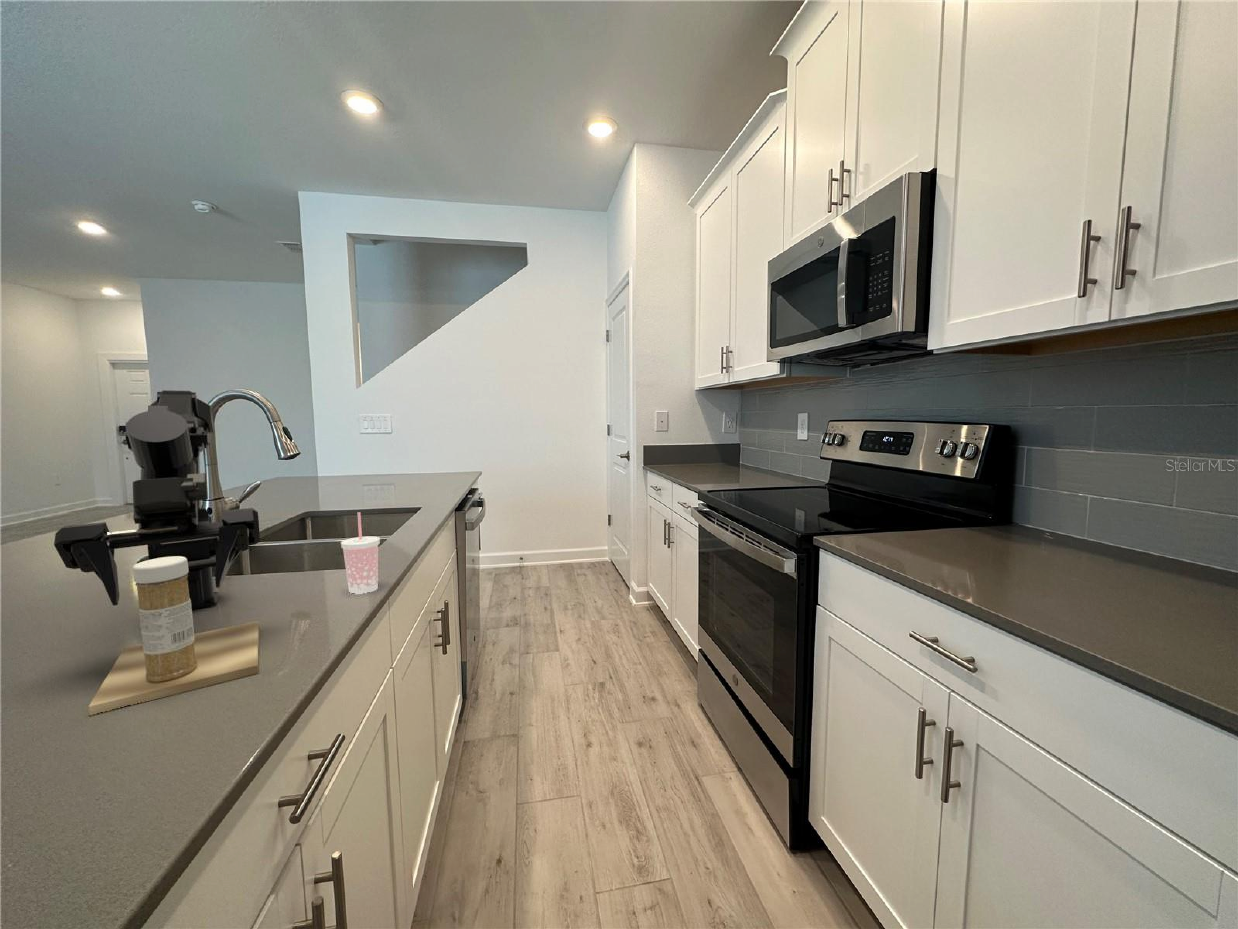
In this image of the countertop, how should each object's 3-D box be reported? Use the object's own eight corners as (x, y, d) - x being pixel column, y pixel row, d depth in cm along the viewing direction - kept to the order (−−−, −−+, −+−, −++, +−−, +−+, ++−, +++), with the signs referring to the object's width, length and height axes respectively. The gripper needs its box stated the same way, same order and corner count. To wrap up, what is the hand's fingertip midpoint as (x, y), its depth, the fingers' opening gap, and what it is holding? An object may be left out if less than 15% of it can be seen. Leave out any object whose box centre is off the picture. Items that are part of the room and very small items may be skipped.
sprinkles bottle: (186, 660, 60) (175, 553, 58) (206, 668, 58) (195, 557, 56) (136, 678, 56) (124, 563, 54) (156, 687, 54) (143, 568, 52)
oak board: (125, 655, 63) (124, 648, 63) (258, 627, 71) (258, 621, 71) (89, 715, 50) (88, 706, 50) (257, 673, 58) (257, 665, 58)
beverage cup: (386, 590, 86) (381, 512, 85) (346, 598, 83) (341, 517, 81) (378, 581, 91) (374, 507, 90) (341, 588, 88) (336, 511, 86)
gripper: (48, 457, 55) (28, 577, 48) (252, 449, 67) (262, 545, 59) (74, 514, 63) (60, 626, 55) (255, 498, 74) (264, 589, 67)
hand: (168, 594), depth 59 cm, fingers open, 9 cm apart
